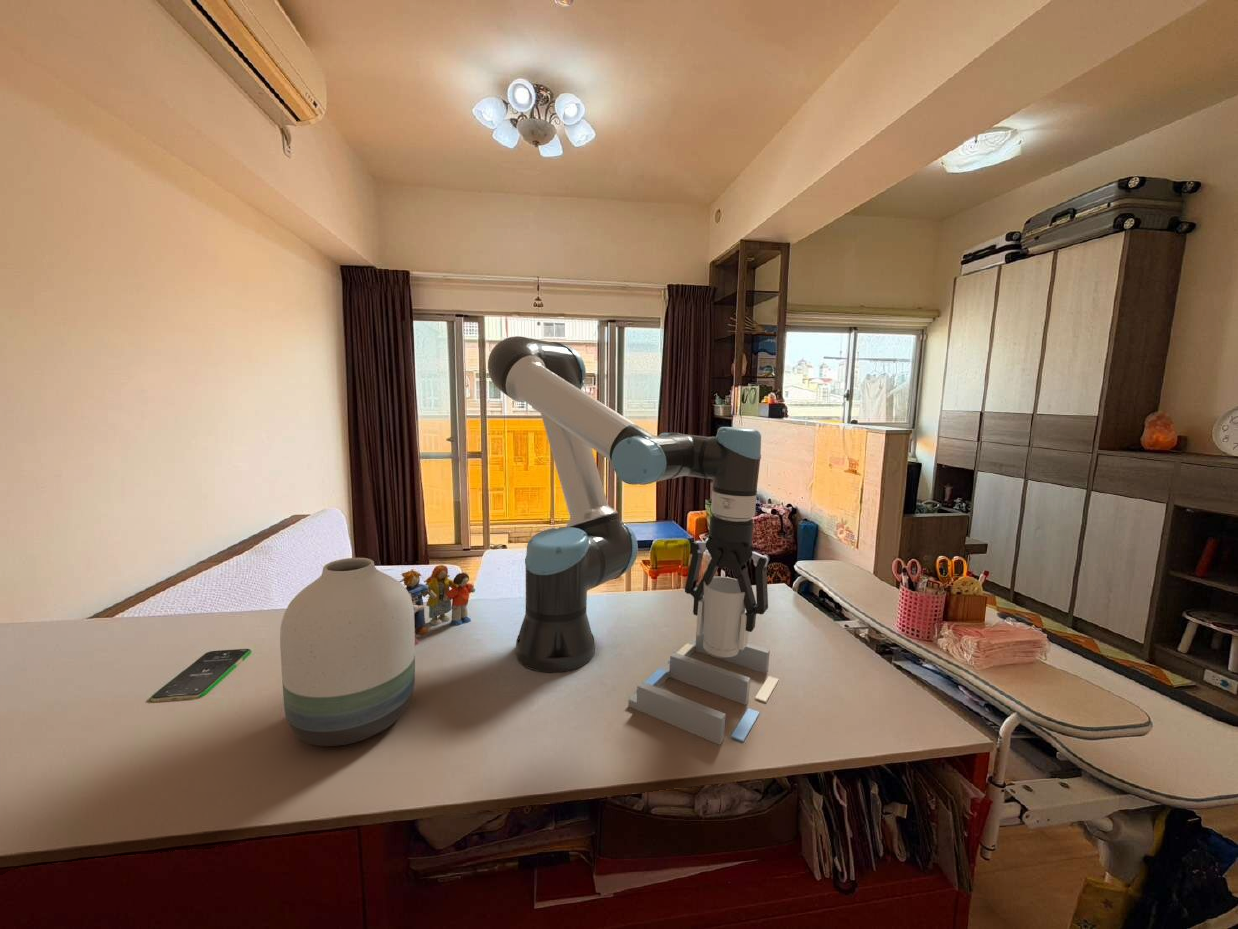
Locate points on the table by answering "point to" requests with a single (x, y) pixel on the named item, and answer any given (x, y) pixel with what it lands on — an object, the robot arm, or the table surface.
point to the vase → (347, 654)
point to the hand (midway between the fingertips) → (721, 639)
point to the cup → (722, 616)
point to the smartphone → (201, 675)
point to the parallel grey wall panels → (709, 679)
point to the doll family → (438, 597)
